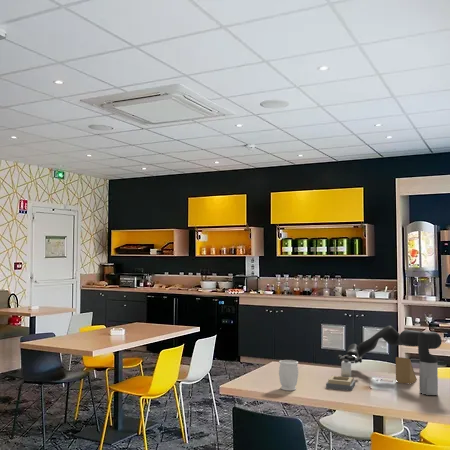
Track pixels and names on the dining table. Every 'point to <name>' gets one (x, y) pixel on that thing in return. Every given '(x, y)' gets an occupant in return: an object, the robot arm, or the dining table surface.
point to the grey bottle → (346, 368)
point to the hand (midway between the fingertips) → (348, 360)
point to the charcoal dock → (342, 387)
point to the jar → (288, 374)
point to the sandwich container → (404, 370)
